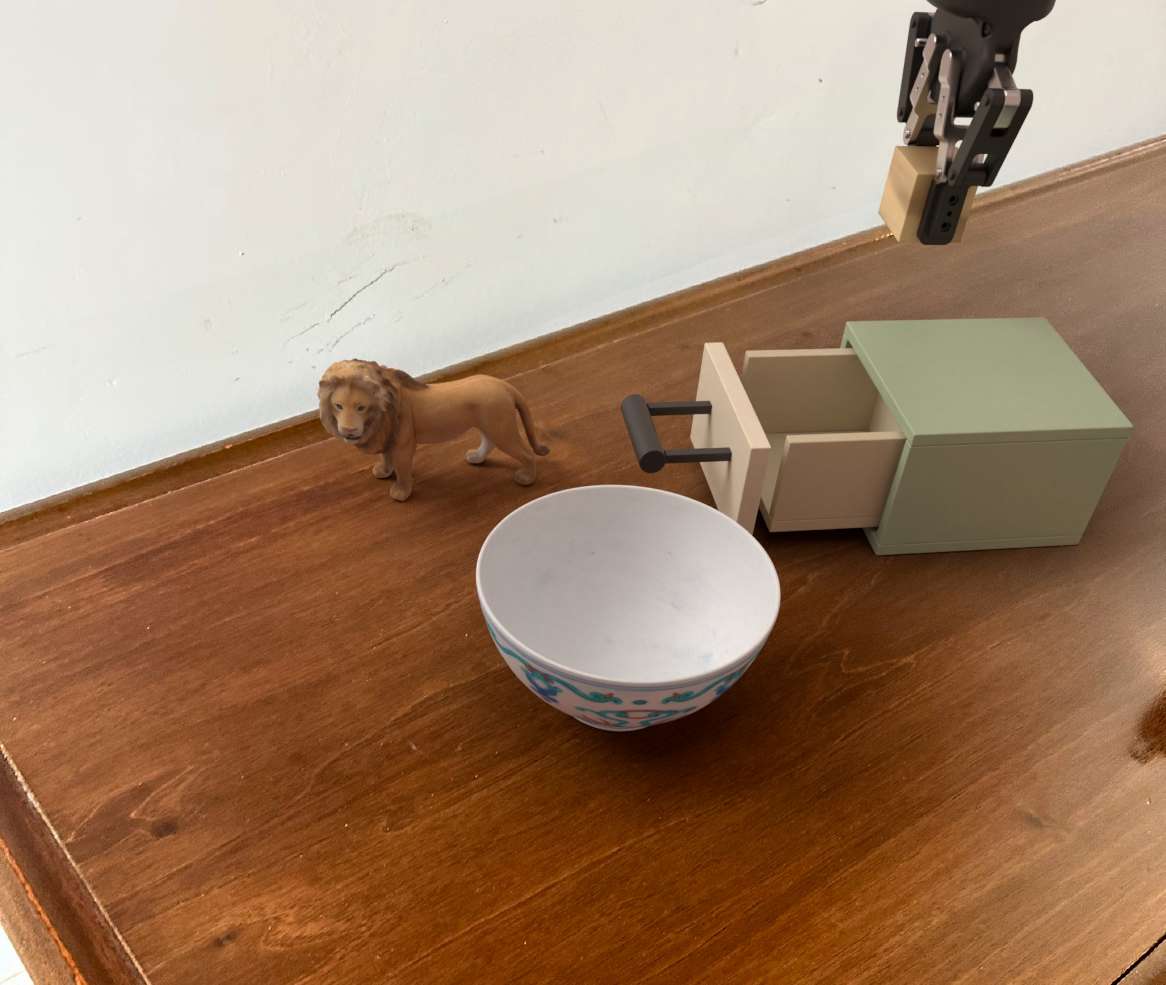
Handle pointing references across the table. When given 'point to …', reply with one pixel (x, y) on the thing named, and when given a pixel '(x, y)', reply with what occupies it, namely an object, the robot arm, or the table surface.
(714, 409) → the drawer
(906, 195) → the birch block
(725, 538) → the chinaware
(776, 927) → the table surface
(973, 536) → the cabinet
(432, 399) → the lion figurine
